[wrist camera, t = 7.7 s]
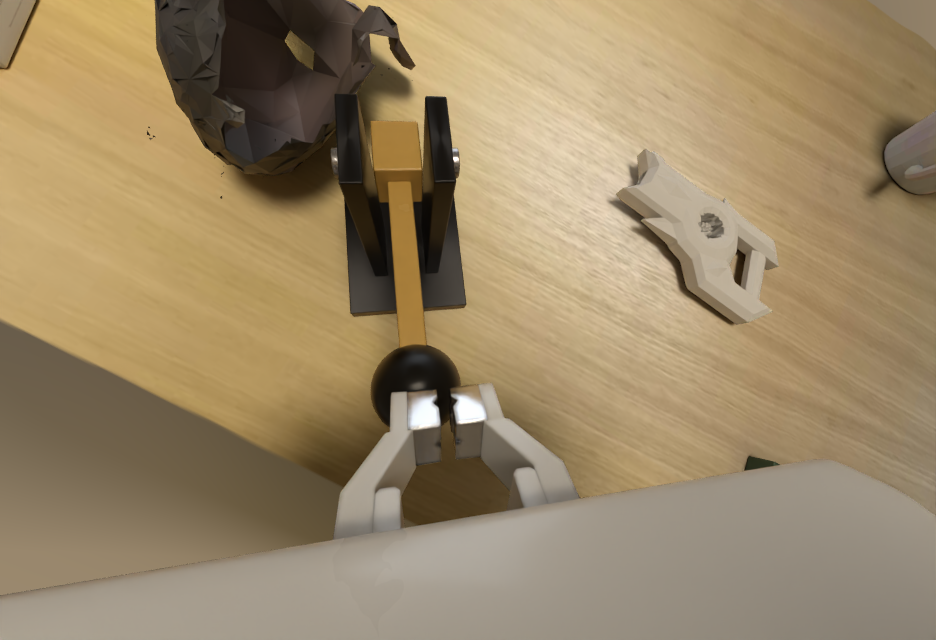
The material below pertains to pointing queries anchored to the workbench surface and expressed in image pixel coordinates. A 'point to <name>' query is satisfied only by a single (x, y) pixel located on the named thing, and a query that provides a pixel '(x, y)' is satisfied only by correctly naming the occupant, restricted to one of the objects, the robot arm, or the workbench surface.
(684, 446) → the workbench surface
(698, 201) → the beige holed clip
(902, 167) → the mug
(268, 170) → the crumpled paper
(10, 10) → the small box
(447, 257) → the black lever stand
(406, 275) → the lever
